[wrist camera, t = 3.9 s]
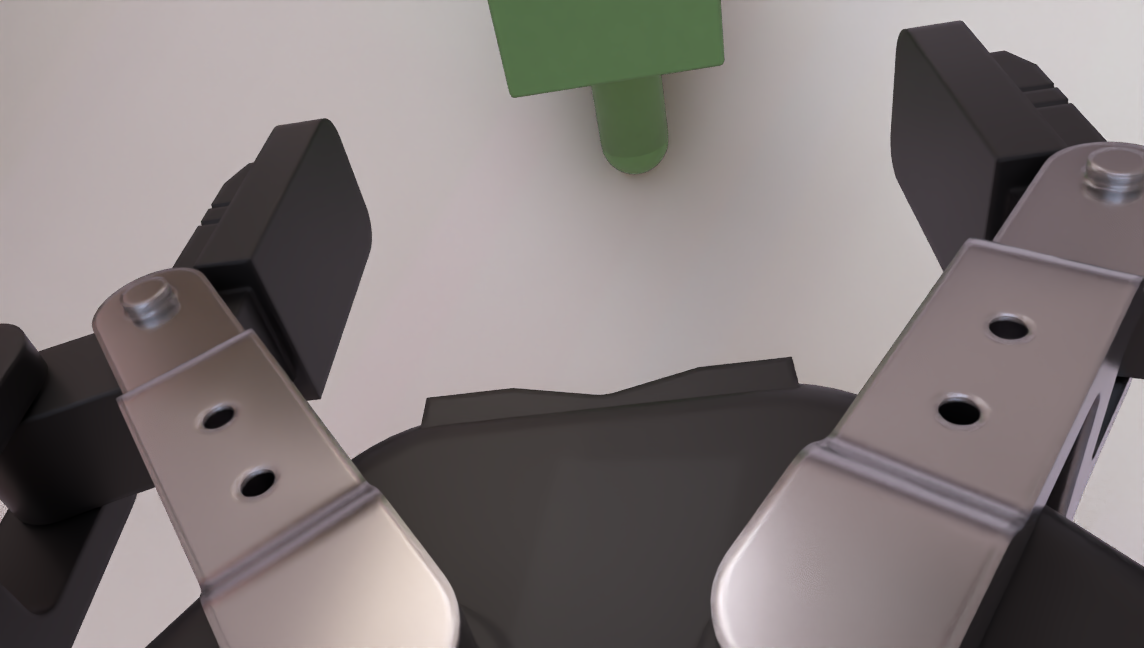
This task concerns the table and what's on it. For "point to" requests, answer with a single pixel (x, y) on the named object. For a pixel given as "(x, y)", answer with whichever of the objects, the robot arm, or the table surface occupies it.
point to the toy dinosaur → (610, 61)
